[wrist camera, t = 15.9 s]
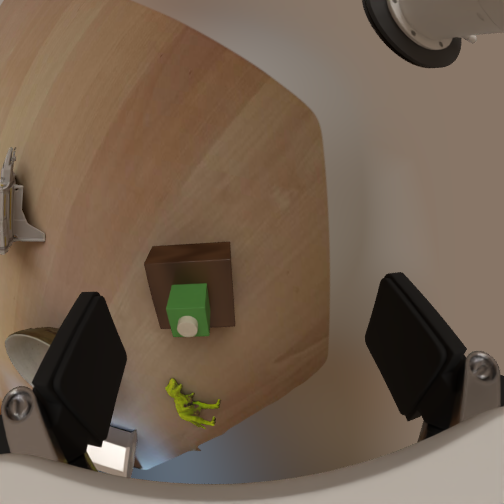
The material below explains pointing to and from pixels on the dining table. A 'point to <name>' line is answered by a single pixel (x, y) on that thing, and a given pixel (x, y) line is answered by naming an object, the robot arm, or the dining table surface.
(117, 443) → the white boxy piece
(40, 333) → the bowl
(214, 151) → the dining table surface
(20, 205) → the toy spacecraft
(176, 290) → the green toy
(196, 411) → the dinosaur figurine
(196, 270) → the walnut block
